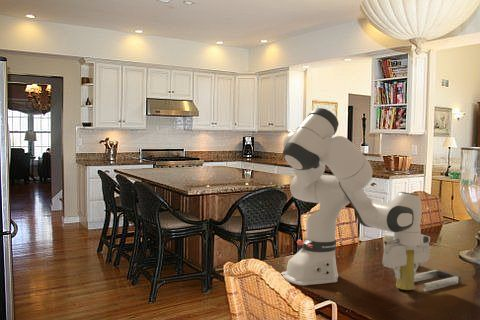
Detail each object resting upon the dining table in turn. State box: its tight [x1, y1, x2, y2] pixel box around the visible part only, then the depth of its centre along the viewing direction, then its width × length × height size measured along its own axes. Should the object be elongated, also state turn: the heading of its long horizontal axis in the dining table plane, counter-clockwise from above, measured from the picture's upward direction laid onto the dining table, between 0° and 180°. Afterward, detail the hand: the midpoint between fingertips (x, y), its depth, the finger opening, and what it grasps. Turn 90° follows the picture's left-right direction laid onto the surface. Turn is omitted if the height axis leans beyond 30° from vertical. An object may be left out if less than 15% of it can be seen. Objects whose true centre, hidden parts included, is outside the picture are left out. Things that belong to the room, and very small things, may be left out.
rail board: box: [414, 268, 462, 292], centre depth 158 cm, size 20×10×2 cm, turn 119°
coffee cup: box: [382, 231, 394, 249], centre depth 185 cm, size 9×9×12 cm
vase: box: [395, 250, 415, 291], centre depth 151 cm, size 6×6×14 cm
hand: (405, 276), depth 151 cm, fingers closed on vase, 6 cm apart
